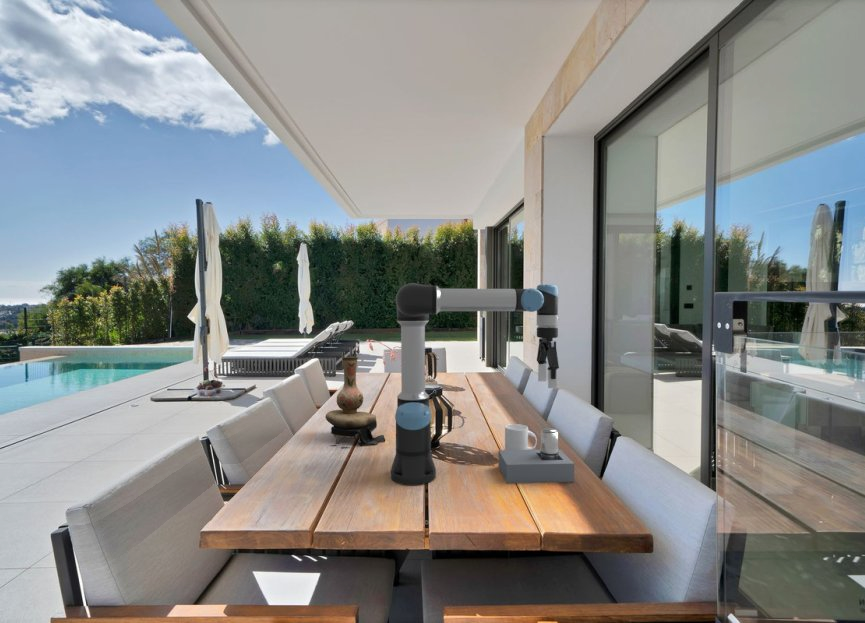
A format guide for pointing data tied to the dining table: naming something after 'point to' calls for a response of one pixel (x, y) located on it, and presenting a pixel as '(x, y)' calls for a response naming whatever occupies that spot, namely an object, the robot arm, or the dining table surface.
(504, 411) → the dining table surface
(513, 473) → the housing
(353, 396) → the vase
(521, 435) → the mug
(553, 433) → the silver can
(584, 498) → the dining table surface
